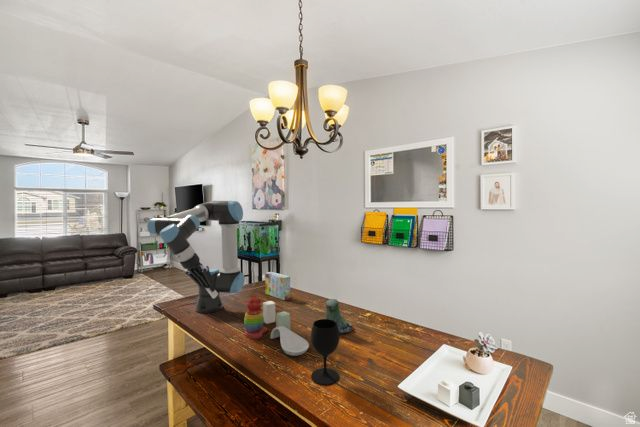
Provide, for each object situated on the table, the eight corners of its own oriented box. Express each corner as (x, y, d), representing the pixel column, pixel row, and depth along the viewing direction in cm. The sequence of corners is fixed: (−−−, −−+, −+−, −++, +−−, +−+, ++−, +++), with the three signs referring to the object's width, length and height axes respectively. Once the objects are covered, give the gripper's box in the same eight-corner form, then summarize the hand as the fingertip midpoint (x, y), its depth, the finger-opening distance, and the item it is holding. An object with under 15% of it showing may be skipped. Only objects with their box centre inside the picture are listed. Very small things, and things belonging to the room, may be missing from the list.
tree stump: (360, 325, 155) (358, 295, 150) (343, 350, 139) (341, 317, 134) (329, 316, 165) (327, 288, 160) (310, 339, 148) (307, 308, 143)
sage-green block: (276, 333, 145) (276, 313, 144) (285, 330, 148) (284, 311, 147) (281, 337, 141) (281, 316, 140) (290, 334, 144) (290, 314, 144)
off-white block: (262, 320, 160) (262, 302, 160) (271, 318, 163) (271, 300, 163) (266, 323, 156) (266, 305, 156) (275, 321, 159) (275, 303, 158)
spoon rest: (314, 353, 126) (314, 337, 126) (291, 363, 119) (291, 346, 118) (284, 334, 144) (284, 319, 144) (262, 341, 137) (262, 326, 137)
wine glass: (310, 369, 114) (310, 318, 113) (336, 368, 115) (337, 317, 114) (311, 386, 104) (311, 330, 103) (341, 384, 105) (341, 329, 104)
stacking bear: (260, 339, 138) (259, 302, 138) (240, 337, 140) (239, 300, 140) (268, 329, 149) (268, 294, 148) (249, 328, 151) (249, 293, 150)
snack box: (290, 298, 196) (290, 276, 195) (284, 301, 192) (284, 278, 191) (271, 292, 210) (271, 271, 210) (264, 293, 206) (264, 272, 205)
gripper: (171, 264, 129) (200, 303, 138) (192, 260, 123) (221, 301, 133) (182, 253, 135) (210, 291, 144) (203, 249, 129) (230, 289, 139)
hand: (215, 296), depth 138 cm, fingers closed
